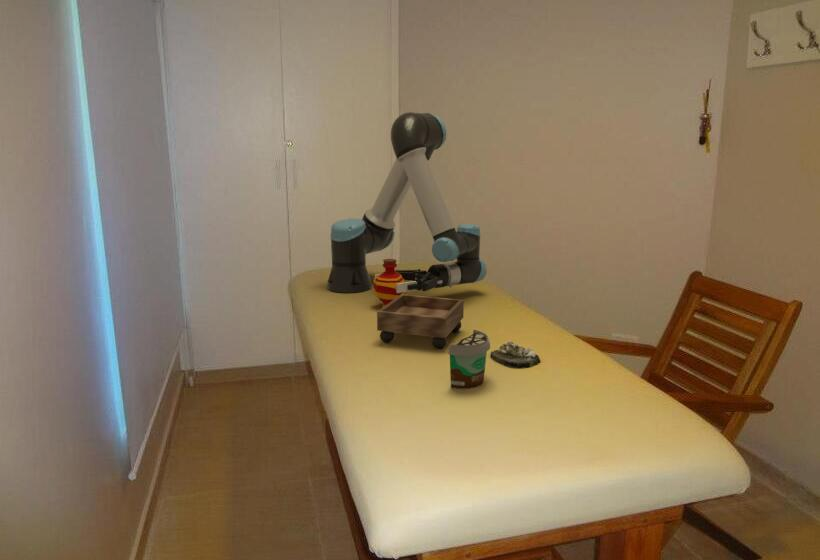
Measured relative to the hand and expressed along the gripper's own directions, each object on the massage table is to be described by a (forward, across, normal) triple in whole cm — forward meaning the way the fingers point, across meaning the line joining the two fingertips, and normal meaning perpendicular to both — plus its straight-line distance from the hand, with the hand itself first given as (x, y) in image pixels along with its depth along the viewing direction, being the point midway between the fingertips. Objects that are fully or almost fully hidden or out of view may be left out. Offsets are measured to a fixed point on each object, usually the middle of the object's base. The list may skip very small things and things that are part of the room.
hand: (385, 283), depth 183 cm
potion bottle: (-1, 0, -8) cm, 8 cm away
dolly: (+5, -28, -8) cm, 30 cm away
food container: (+11, -60, -8) cm, 61 cm away
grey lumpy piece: (-6, -54, -8) cm, 55 cm away
